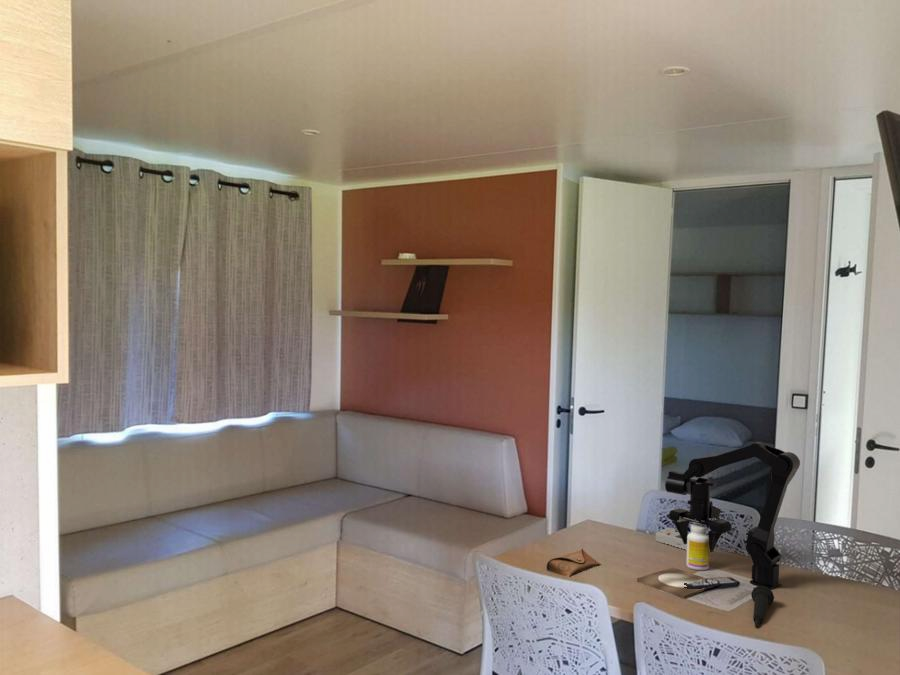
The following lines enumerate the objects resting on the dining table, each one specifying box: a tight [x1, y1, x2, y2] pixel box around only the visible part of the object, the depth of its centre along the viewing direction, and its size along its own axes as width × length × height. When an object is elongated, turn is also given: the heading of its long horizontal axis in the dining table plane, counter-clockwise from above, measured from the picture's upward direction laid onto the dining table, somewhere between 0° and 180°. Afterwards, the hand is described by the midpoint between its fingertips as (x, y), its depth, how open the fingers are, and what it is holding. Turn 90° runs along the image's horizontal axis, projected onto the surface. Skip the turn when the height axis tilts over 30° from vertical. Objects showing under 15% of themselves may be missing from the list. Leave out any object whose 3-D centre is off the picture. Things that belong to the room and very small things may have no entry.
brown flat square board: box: [636, 566, 707, 599], centre depth 214 cm, size 16×17×1 cm
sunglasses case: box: [546, 548, 602, 578], centre depth 226 cm, size 18×7×7 cm
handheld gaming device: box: [655, 527, 690, 551], centre depth 252 cm, size 9×15×4 cm, turn 38°
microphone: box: [750, 585, 775, 629], centre depth 193 cm, size 6×6×20 cm
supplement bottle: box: [685, 523, 710, 571], centre depth 228 cm, size 7×7×13 cm
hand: (698, 547), depth 228 cm, fingers open, 9 cm apart
